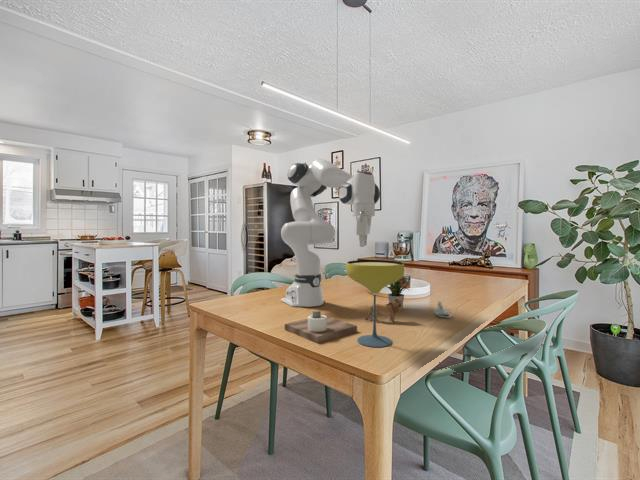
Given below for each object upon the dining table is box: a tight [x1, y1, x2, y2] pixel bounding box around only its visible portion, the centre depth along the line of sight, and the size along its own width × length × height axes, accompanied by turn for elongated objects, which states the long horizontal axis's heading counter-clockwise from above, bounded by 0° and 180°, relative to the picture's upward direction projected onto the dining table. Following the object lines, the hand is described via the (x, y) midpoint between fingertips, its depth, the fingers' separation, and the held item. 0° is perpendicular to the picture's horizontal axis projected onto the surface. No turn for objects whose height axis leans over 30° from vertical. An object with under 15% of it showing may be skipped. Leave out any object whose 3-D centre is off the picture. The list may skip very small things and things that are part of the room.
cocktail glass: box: [345, 259, 405, 348], centre depth 103 cm, size 18×18×25 cm
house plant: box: [385, 276, 412, 311], centre depth 144 cm, size 14×14×16 cm
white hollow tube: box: [307, 314, 328, 332], centre depth 110 cm, size 6×6×4 cm
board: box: [284, 310, 358, 344], centre depth 115 cm, size 18×18×8 cm
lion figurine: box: [365, 298, 404, 324], centre depth 126 cm, size 15×5×9 cm, turn 94°
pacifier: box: [434, 301, 452, 319], centre depth 133 cm, size 7×6×6 cm
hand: (363, 246), depth 132 cm, fingers open, 8 cm apart
